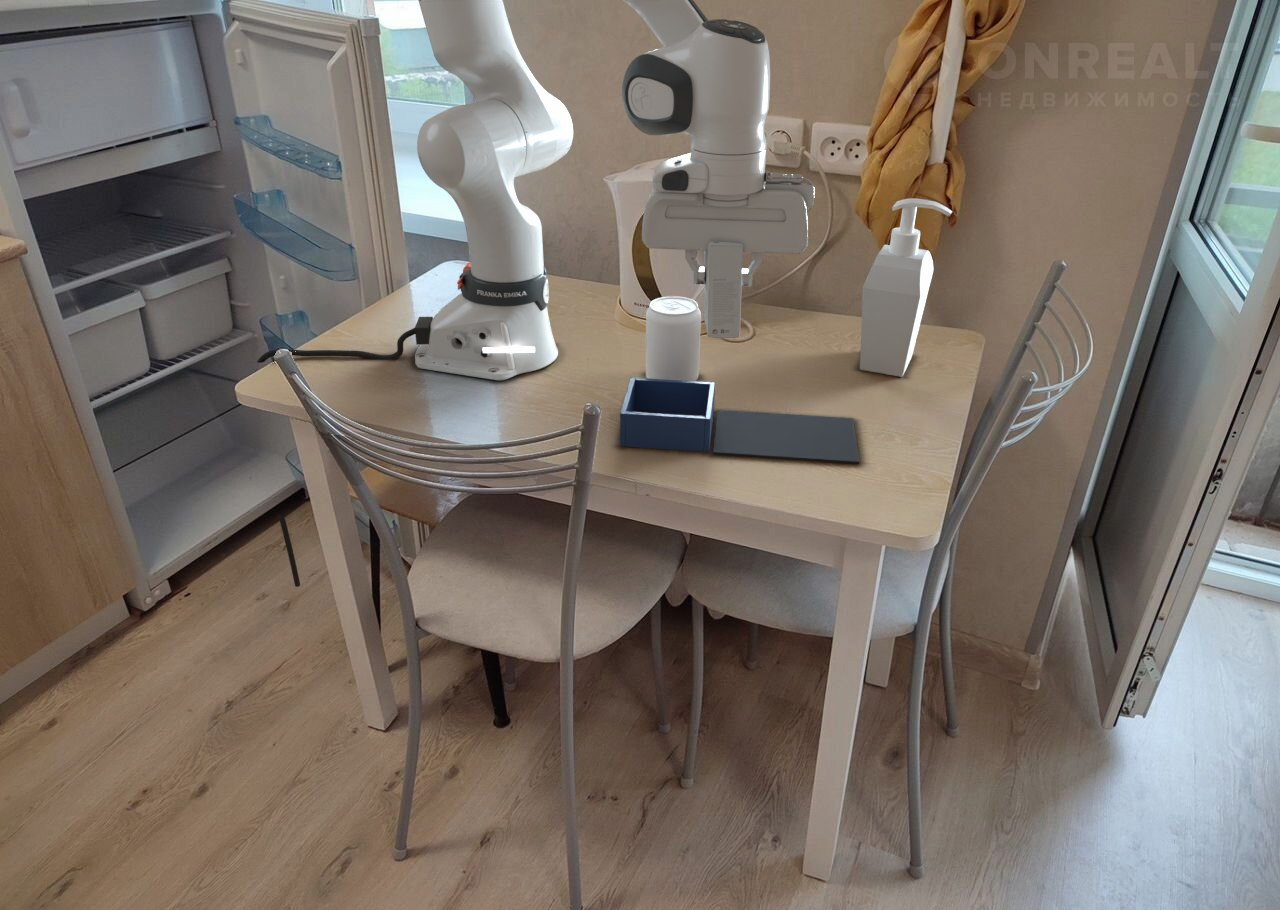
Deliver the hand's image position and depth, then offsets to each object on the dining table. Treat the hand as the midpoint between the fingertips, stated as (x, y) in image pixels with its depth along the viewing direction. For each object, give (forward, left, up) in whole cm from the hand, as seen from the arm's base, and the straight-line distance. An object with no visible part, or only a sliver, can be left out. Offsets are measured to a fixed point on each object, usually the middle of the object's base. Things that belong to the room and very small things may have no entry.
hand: (722, 283), depth 118 cm
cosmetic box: (0, 0, -6) cm, 6 cm away
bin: (-6, 0, -22) cm, 22 cm away
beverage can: (-7, +16, -22) cm, 28 cm away
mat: (+10, 0, -22) cm, 24 cm away
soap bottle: (+27, +26, -22) cm, 43 cm away
